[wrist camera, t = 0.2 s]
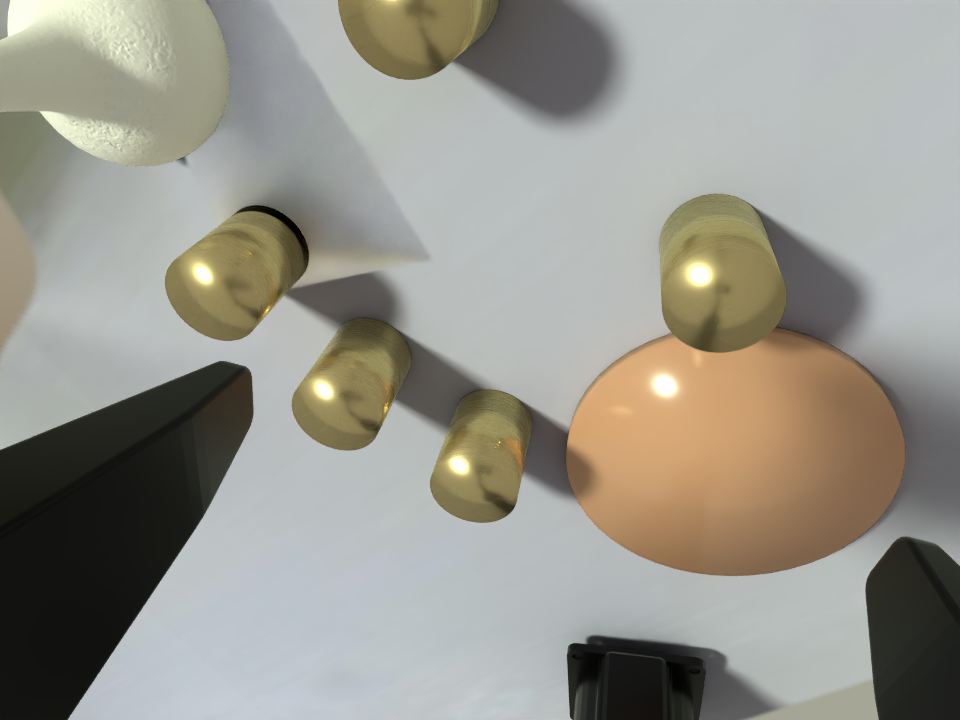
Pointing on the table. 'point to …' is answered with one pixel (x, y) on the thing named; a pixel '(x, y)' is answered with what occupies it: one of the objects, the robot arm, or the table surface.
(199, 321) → the spacer field
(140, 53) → the cream white mushroom
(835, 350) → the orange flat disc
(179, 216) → the table surface
